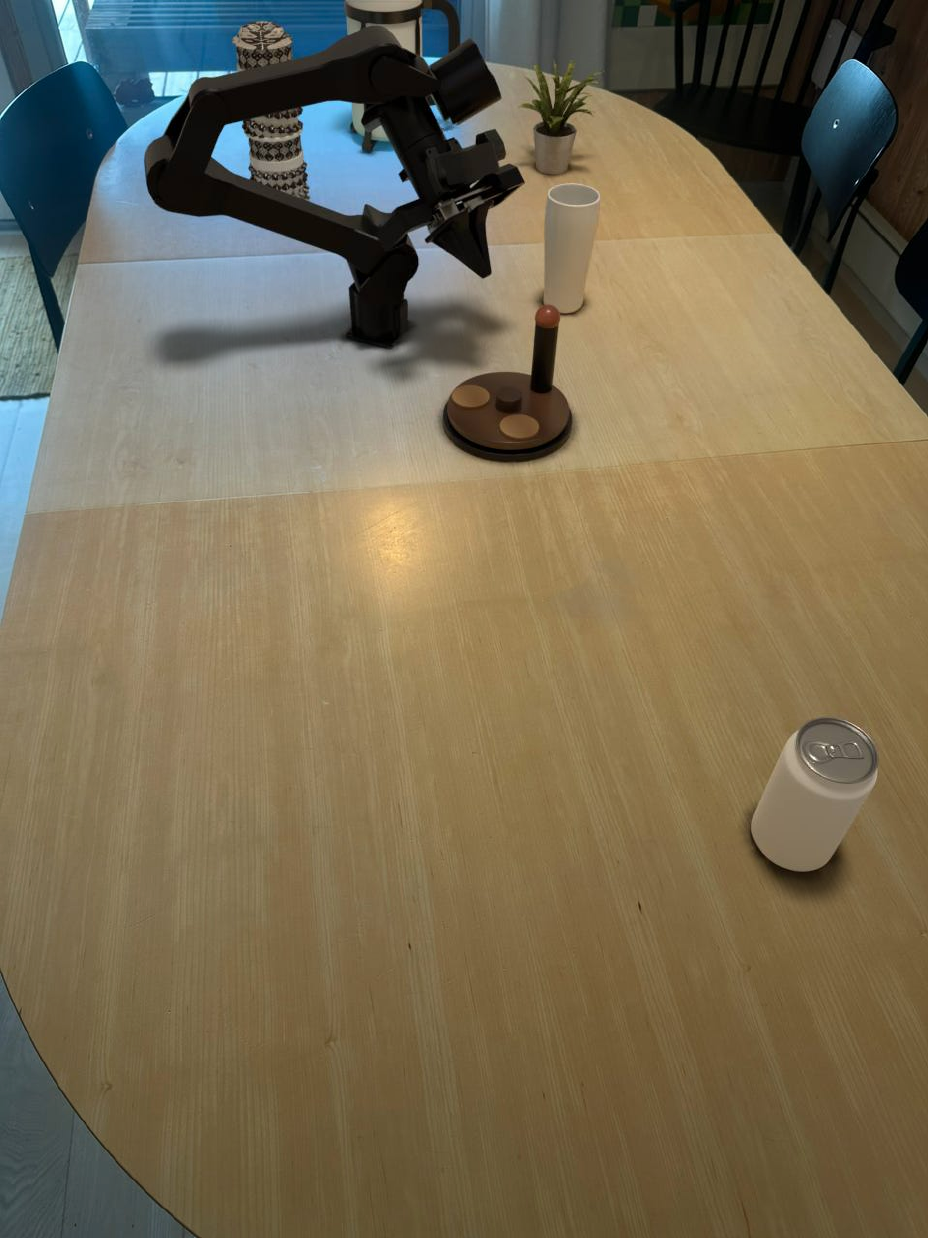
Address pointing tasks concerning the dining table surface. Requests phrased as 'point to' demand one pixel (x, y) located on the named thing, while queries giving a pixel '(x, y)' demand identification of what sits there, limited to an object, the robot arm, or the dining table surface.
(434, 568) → the dining table surface
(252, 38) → the decorative candle
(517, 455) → the base
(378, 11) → the coffee press
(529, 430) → the turntable with crank handle
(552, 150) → the house plant
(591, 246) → the drinking glass
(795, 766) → the can
